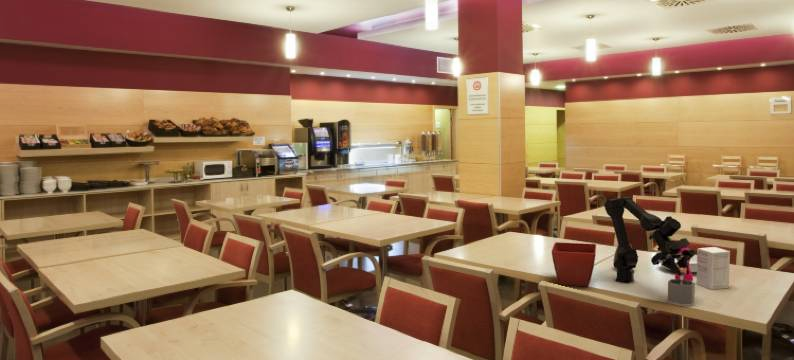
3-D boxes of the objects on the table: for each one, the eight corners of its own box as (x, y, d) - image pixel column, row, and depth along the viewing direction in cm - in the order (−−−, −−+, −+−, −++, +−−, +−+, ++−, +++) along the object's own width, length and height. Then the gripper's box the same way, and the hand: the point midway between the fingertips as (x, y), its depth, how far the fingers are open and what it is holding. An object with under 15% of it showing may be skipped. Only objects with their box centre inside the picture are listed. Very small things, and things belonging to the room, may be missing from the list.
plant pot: (551, 286, 245) (551, 250, 243) (554, 275, 263) (555, 241, 261) (595, 290, 238) (595, 253, 236) (596, 278, 256) (596, 244, 254)
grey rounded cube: (664, 302, 219) (664, 282, 218) (671, 296, 226) (672, 277, 225) (690, 307, 212) (691, 287, 211) (697, 301, 219) (698, 281, 218)
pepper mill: (695, 289, 234) (696, 245, 232) (678, 289, 235) (678, 245, 233) (689, 284, 241) (689, 241, 239) (672, 284, 242) (672, 241, 240)
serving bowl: (659, 274, 259) (660, 261, 258) (656, 264, 278) (656, 251, 277) (708, 278, 251) (709, 264, 250) (701, 267, 270) (702, 253, 270)
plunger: (669, 287, 218) (669, 268, 218) (674, 283, 223) (675, 264, 223) (688, 290, 213) (688, 271, 213) (693, 286, 218) (694, 267, 218)
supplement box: (714, 282, 245) (715, 246, 243) (729, 288, 235) (731, 251, 234) (695, 283, 243) (696, 247, 241) (710, 289, 234) (712, 252, 232)
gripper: (656, 233, 217) (677, 266, 208) (693, 230, 223) (714, 262, 213) (642, 248, 225) (661, 280, 216) (677, 244, 231) (697, 275, 222)
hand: (684, 274), depth 217 cm, fingers closed on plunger, 4 cm apart
